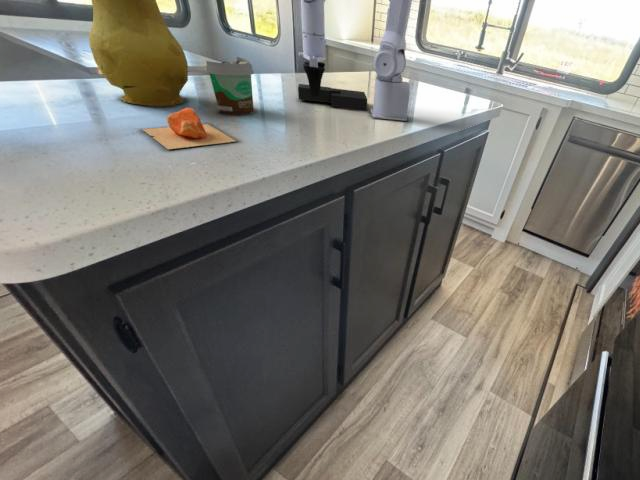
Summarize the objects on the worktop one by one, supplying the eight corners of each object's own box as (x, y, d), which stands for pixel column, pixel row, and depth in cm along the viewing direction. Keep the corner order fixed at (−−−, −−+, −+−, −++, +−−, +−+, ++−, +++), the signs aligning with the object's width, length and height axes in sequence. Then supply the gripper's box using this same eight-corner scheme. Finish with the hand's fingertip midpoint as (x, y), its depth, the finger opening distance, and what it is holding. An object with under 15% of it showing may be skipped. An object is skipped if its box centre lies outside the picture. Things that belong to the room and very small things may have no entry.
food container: (241, 119, 75) (232, 66, 69) (215, 114, 75) (204, 61, 69) (268, 109, 84) (262, 61, 78) (245, 104, 85) (238, 56, 78)
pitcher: (97, 105, 69) (33, -72, 53) (118, 90, 82) (72, -55, 67) (193, 112, 75) (160, -45, 60) (198, 97, 88) (172, -34, 73)
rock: (168, 150, 57) (159, 123, 54) (142, 130, 62) (132, 104, 60) (236, 141, 64) (232, 117, 61) (207, 124, 70) (202, 100, 67)
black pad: (338, 99, 100) (338, 88, 98) (339, 103, 96) (339, 91, 94) (299, 95, 98) (299, 83, 96) (298, 99, 94) (297, 87, 92)
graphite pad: (363, 103, 104) (364, 91, 102) (366, 110, 97) (367, 99, 95) (331, 99, 102) (331, 88, 100) (331, 107, 95) (331, 95, 93)
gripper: (299, 29, 92) (302, 87, 100) (295, 33, 81) (299, 97, 90) (325, 33, 93) (326, 89, 102) (325, 38, 82) (326, 100, 91)
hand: (315, 93), depth 96 cm, fingers closed on black pad, 5 cm apart
